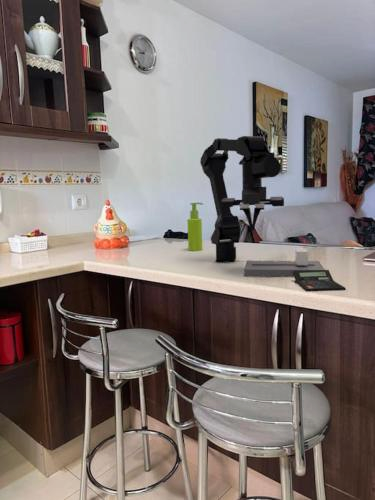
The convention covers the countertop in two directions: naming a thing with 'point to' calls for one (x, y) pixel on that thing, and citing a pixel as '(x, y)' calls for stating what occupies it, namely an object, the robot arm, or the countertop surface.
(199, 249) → the soap dispenser
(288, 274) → the gray slotted panel
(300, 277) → the calculator
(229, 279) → the countertop surface
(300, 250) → the fader
